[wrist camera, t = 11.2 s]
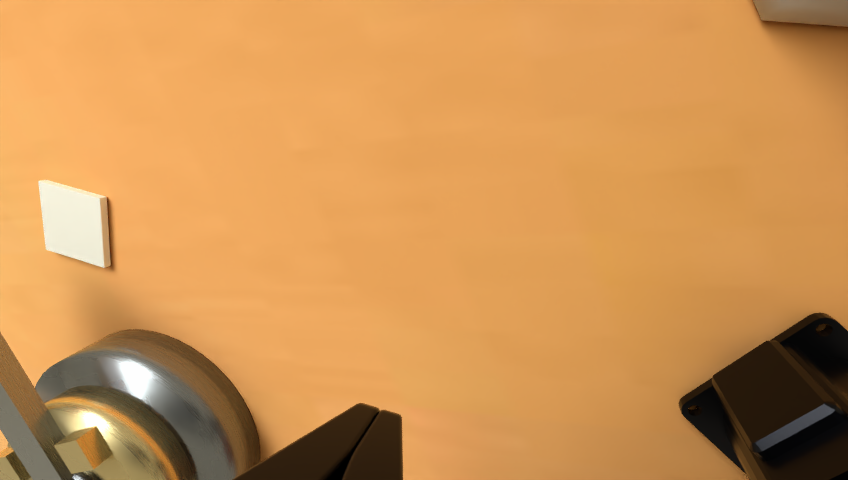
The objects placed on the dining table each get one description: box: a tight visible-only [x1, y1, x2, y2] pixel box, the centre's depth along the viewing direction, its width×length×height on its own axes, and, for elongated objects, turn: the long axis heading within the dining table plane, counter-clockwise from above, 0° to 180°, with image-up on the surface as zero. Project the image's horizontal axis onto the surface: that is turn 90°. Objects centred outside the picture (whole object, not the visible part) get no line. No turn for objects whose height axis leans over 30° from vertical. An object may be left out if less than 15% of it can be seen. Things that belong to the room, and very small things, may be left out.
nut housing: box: [35, 330, 260, 480], centre depth 27 cm, size 13×13×3 cm
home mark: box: [39, 180, 111, 268], centre depth 25 cm, size 4×4×1 cm
